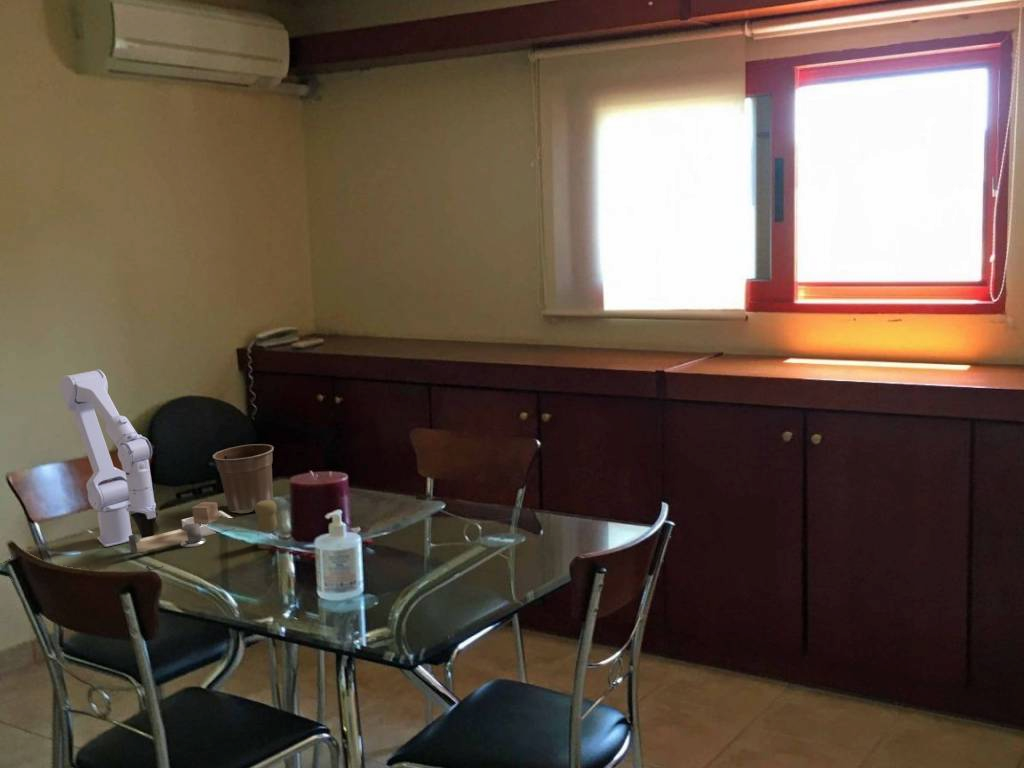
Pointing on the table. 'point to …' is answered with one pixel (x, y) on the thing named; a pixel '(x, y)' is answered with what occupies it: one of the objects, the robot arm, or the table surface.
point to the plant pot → (246, 475)
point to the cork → (266, 516)
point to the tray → (203, 529)
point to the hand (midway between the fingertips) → (147, 540)
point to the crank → (165, 538)
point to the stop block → (205, 513)
